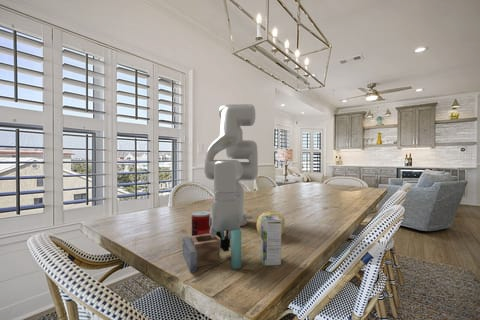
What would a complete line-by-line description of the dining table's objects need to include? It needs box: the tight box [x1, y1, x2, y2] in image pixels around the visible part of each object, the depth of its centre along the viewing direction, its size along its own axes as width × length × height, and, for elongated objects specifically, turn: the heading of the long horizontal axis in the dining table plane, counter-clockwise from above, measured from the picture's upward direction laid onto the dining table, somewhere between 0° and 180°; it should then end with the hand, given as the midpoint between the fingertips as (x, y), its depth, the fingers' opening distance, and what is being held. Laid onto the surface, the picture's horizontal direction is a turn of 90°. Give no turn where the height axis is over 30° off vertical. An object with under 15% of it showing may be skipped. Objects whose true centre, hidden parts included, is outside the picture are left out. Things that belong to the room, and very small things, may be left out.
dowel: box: [230, 229, 242, 270], centre depth 72 cm, size 3×3×11 cm
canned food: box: [191, 210, 210, 236], centre depth 96 cm, size 8×8×11 cm
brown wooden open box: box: [189, 234, 221, 267], centre depth 77 cm, size 8×8×7 cm
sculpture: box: [256, 211, 286, 237], centre depth 99 cm, size 11×12×11 cm
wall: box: [182, 236, 198, 274], centre depth 75 cm, size 2×14×6 cm, turn 23°
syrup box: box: [260, 215, 282, 267], centre depth 75 cm, size 6×6×14 cm
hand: (225, 249), depth 80 cm, fingers closed
